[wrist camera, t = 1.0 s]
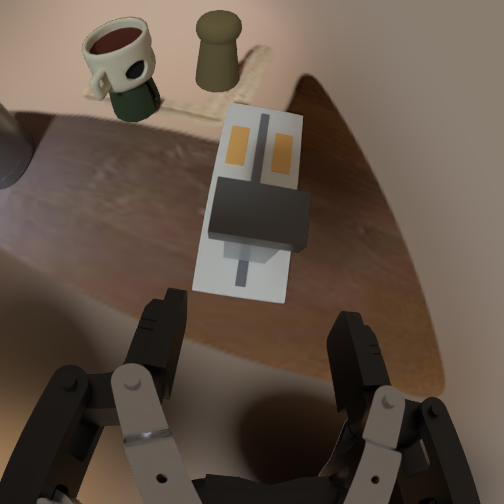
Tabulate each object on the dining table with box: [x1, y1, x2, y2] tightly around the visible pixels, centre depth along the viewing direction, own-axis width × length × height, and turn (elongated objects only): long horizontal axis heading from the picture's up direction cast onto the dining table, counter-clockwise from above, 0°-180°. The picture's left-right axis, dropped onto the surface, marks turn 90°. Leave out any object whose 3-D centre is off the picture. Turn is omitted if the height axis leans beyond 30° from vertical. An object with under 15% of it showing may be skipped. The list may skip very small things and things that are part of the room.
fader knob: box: [208, 176, 311, 264], centre depth 23 cm, size 4×6×11 cm, turn 82°
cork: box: [196, 10, 242, 92], centre depth 29 cm, size 6×6×11 cm
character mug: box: [82, 17, 160, 122], centre depth 26 cm, size 11×7×13 cm, turn 164°
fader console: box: [192, 102, 303, 303], centre depth 31 cm, size 22×9×2 cm, turn 172°
